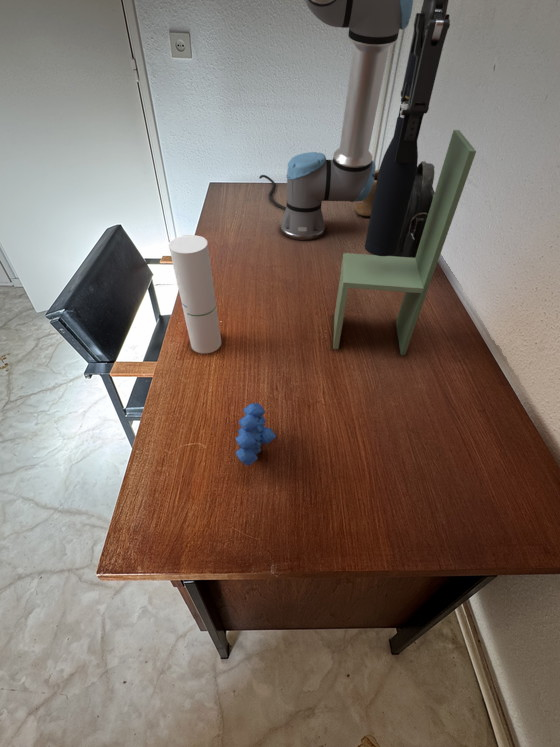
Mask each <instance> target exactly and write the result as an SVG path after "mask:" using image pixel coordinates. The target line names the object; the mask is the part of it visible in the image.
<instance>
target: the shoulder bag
mask: <svg viewBox="0 0 560 747" xmlns="http://www.w3.org/2000/svg"><path fill="white" fill-rule="evenodd" d="M434 180H435V165H434V164H433V163H431V162H430V163H429V162H426V160H423V161H420V163H418V164H417V173H416V177H415V181H414V185H413V189H412V193H411V197H410V201H409V204H408V208H407V212H406V216H405V220H404V224H403V228H402V232H401V236H400V240H399V244H398V247H397V251H396V253H395V254H393V255H390V256H395V257H410V258H415V257H416V254H417V250H418V247H419V244H420V240H421V237H422V234H423V230H424V227H425V224H426V220H427V217H428V214H429V210H430V207H431V204H432V200H433V197H434V194H435V190H434Z"/></svg>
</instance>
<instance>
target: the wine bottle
mask: <svg viewBox="0 0 560 747" xmlns="http://www.w3.org/2000/svg"><path fill="white" fill-rule="evenodd" d="M409 53H410V52H409ZM408 58H409V60H408V59H407V62H408V65H407V64H406V67H407V70H406V69H405V72H406V75H405V74H404V77H405V80H404V79H403V82H404V81H405V82H407V83H409V84H408V88H407V93H406V96H405V98H406V99H407V100H409V96H410V91H411V85H412V79H413V74H414V68H415V62H416V57H415V56H414V52H413V53H410V55H409V54H408ZM408 102H409V101H406V102H403V104H401V105H402V106H401V108H402V109H401V111H400V116H398V117H397V118H396V122H395V127H394V133H393V136H392V139H391V141H390V142H389V144H388V147H387V148H386V150H385V152H384V154H383V158H382V160H381V162H380V166H379V173H378V178H377V183H376V189H375V194H374V199H373V205H372V210H371V215H370V216H369V222H368V227H367V232H366V238H365V243H364V250H365V251H366V252H367V253H369V254H370V255H377V256H390V255H393V254H395V253H396V251H397V247H398V244H399V240H400V236H401V232H402V228H403V224H404V220H405V216H406V212H407V208H408V204H409V201H410V197H411V193H412V189H413V185H414V181H415V177H416V173H417V166H418V163H419V162H418V161H419V160H418V159H419V151H418V148H419V147H418V143H417V144H416V148H415V152H414V156H413V160H412V163H395V157H396V152H397V147H398V142H399V137H400V133H401V128H402V123H403V118H404V115H401V113H402V110H407V107H408Z"/></svg>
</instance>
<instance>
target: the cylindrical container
mask: <svg viewBox="0 0 560 747" xmlns="http://www.w3.org/2000/svg"><path fill="white" fill-rule="evenodd" d="M168 249H169V253H170V257H171V261H172V266H173V270H174V275H175V279H176V284H177V289H178V292H179V297H180V303H181V307H182V311H183V316H184V320H185V324H186V330H187V333H188V338H189V343H190V347H191V349H192V350H193V351H194V352H196V353H199V354H205V355H206V354H210V353H214V352H215V351H218V349H219V348H220V347H221V346H222V337H221V336H222V335H221V329H220V328H221V327H220V322H219V316H218V308H217V302H216V301H217V300H216V293H215V287H214V279H213V273H212V265H211V257H210V250H209V244H208V240H207V239H206V238H205V237H204V236H201V235H195V234H187V235H181V236H177V237H176V238H173V239H172V240H170V242H169V244H168Z"/></svg>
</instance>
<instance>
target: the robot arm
mask: <svg viewBox="0 0 560 747" xmlns="http://www.w3.org/2000/svg"><path fill="white" fill-rule="evenodd" d="M304 2H305V4H306V6H307V8H308V9H309V11H310V12H311V13H312V14H313V15H314V16H315V18H317V19H318V20H319V21H321V23H324V24H325V25H327V26H329V27H333V28H344V29H348V36H347V37H348V40H349V41H350V43H351V44H352V54H351V60H350V69H349V76H348V84H347V91H346V97H345V98H346V99H345V103H344V104H345V106H344V112H343V113H344V114H343V120H342V128H341V135H340V143H339V148H337V149H336V150H335V151H334V153H333V155H332V156H333V157H332V159H327V157H326V154H324V153H323V152H317V151H311V152H304V153H299V154H297V155H294V156H293V157H291V158H289V159H290V160H289V161H288V163H287V170H286V206H284V205H282V204H280V203H278V202H276V201H275V200H274V199H273V197H272V194H273V192H274V190H275V187H276V182H275V181H274V180H273V179H272V178H270V177H269V176H268V175H265V174H261V175H260V176H258V179H262V178H263V179H264V178H265V179H266V180H268V181H269V182H270V183H271V184H272V187H271V189H270V191H269V193H268V199H269V200H270V202H271V203H272V204H273V205H275V206H276V207H278V208H280V209H282V210H283V211H284V213H283V216H282V219H281V221H280V232H281V234H282V235H283V236H285V237H286V238H289V239H291V240H295V241H312V240H315V239H316V240H317V239H319V238H320V237H322V236H323V235H324V234H325V229H326V225H325V220H324V215H323V211H322V203H323V202H350V203H355V202H363V200H364V199H366V198H367V197H368V195H369V193H370V191H371V189H372V185H373V182H374V175H375V170H377V168H376V167H377V166H376V162H375V161H374V160H373V155H372V153H371V152H370V145H371V141H372V136H373V131H374V127H375V126H374V125H375V120H376V116H377V112H378V106H379V100H380V95H381V90H382V85H383V80H384V75H385V70H386V66H387V61H388V55H389V50H390V49H391V47H392V46H393V45H394V44H395V43H397V41H398V38H399V34H400V30H401V31H403V30H404V29H406V28H407V27H408V25H409V23H410V20H411V17H412V12H413V5H414V0H304ZM448 6H449V0H423V1H422V6H421V9H420V12H416V14H415V18H414V22H413V33H412V39H411V43H410V48H409V53H408V56H409V55H410V53H413V52H414V56H415V57H416V62H415V68H414V74H413V79H412V85H411V91H410V96H409V100H407V99H406V98H405V96H406V93H407V88H408V84H409V83H407V82H405V81H404V80H405V75H406V70H407V65H408V60H409V57H408V58H407V62H406V63H407V64H406V68H405V73H404V78H403V83H402V88H401V90H400V104H401V105H400V106H399V111H398V116H400V111H401V109H402V108H401V106H402V104H403V102H406V101H409V102H408V107H407V110H402V113H401V115H404V118H403V123H402V128H401V133H400V137H399V142H398V147H397V152H396V157H395V163H412V160H413V156H414V152H415V148H416V144H417V145H418V140H419V135H420V131H421V127H422V123H423V118H424V116H425V114H427V113H428V111H429V109H430V102H431V98H432V94H433V90H434V86H435V82H436V77H437V73H438V70H439V65H440V61H441V57H442V52H443V49H444V44H445V41H446V38H447V34H448V30H449V29H450V26H451V23H450V22H451V19H450V14H448V13H447V12H448Z"/></svg>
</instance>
